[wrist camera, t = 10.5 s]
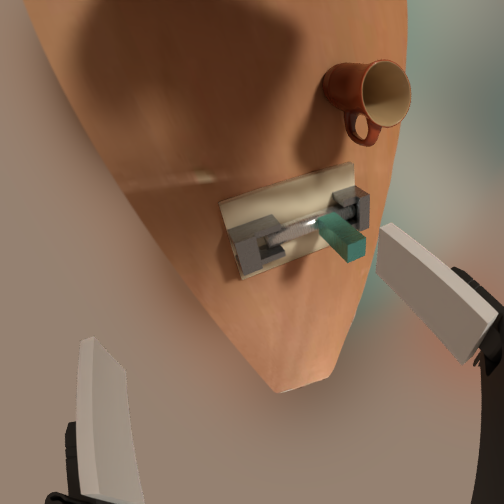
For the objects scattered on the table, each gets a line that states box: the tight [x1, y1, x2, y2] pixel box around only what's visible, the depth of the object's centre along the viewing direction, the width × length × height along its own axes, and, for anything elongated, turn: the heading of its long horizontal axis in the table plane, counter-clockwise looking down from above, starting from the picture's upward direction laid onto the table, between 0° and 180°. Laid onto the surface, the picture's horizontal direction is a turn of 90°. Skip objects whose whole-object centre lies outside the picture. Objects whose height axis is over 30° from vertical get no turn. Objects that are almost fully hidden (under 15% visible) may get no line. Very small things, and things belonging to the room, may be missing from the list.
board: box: [218, 162, 355, 280], centre depth 46 cm, size 14×22×1 cm, turn 102°
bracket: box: [227, 214, 286, 276], centre depth 43 cm, size 6×7×4 cm
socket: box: [332, 185, 370, 232], centre depth 45 cm, size 6×4×4 cm
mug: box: [323, 60, 411, 147], centre depth 33 cm, size 12×9×10 cm
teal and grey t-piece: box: [263, 204, 366, 263], centre depth 41 cm, size 3×15×11 cm, turn 102°
